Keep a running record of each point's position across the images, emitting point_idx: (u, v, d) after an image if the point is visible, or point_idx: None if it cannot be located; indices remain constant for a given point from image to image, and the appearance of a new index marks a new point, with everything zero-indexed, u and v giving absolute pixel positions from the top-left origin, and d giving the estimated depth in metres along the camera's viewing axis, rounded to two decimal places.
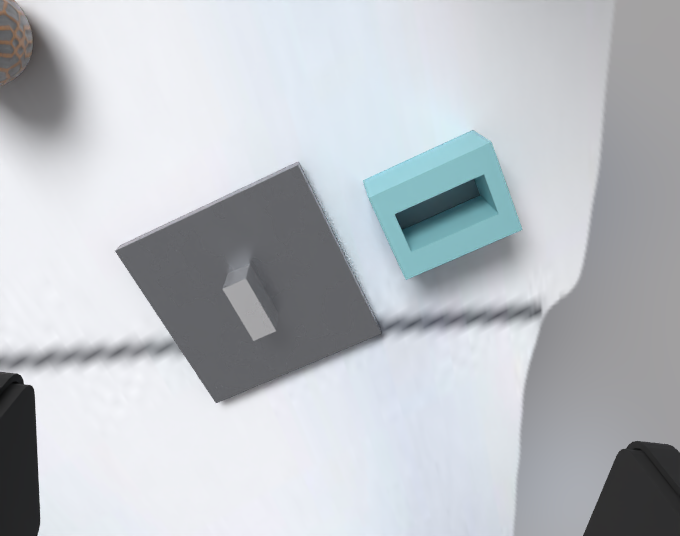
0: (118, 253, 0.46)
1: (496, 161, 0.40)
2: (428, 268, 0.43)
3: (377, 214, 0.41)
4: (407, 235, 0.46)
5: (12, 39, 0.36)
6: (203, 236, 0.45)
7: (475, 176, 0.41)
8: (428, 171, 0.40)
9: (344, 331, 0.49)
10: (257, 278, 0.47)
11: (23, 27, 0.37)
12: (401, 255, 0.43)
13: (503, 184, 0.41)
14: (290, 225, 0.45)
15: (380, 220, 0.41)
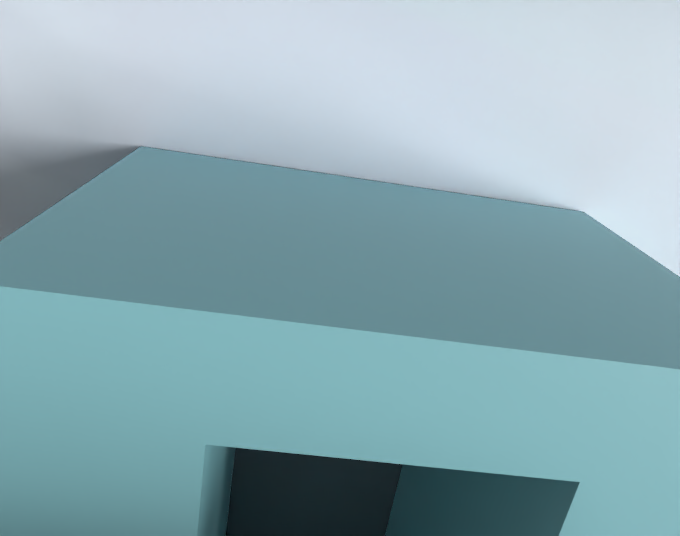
0: None
1: None
2: None
3: None
4: None
5: None
6: None
7: None
8: None
9: None
10: None
11: None
12: (216, 350, 0.05)
13: None
14: None
15: (622, 374, 0.05)
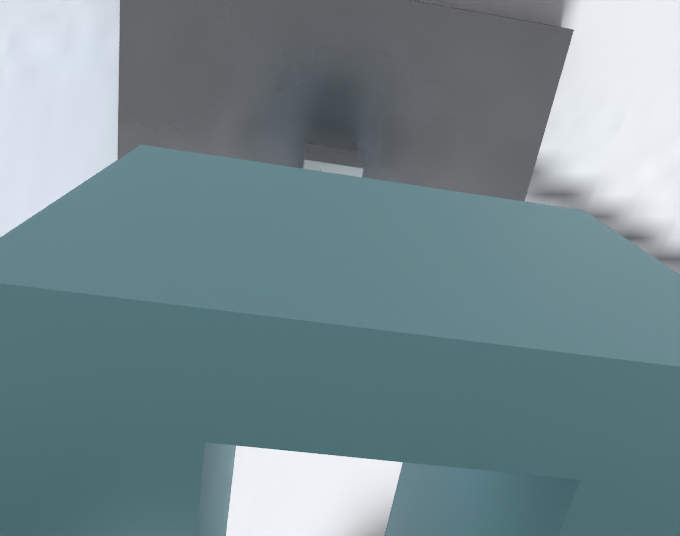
0: None
1: None
2: None
3: None
4: None
5: None
6: None
7: None
8: None
9: (200, 11, 0.20)
10: None
11: None
12: (216, 346, 0.05)
13: None
14: None
15: (622, 371, 0.05)
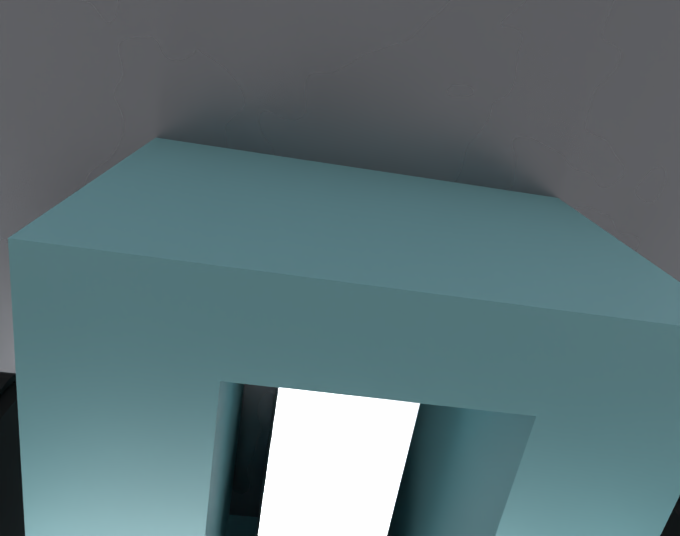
0: None
1: None
2: (32, 419, 0.06)
3: (620, 327, 0.06)
4: None
5: None
6: None
7: None
8: None
9: None
10: None
11: None
12: (229, 299, 0.05)
13: None
14: None
15: (568, 321, 0.06)
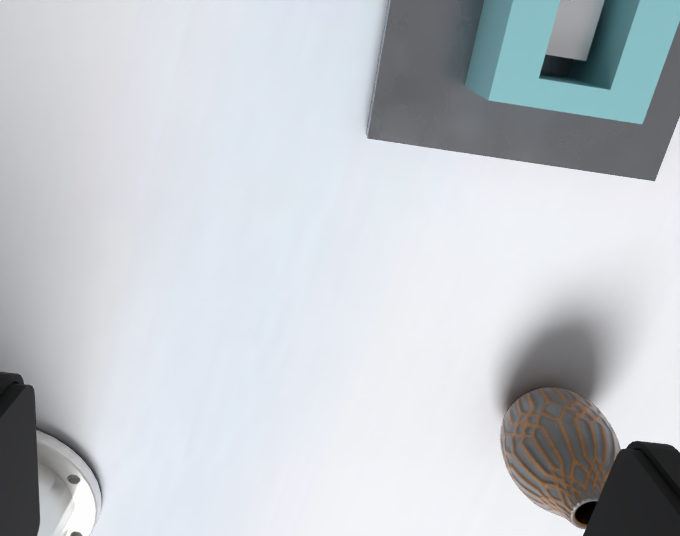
0: (654, 175, 0.32)
1: (612, 116, 0.25)
2: None
3: None
4: None
5: (528, 436, 0.34)
6: (545, 127, 0.31)
7: (617, 75, 0.25)
8: None
9: None
10: None
11: (512, 425, 0.36)
12: None
13: (574, 109, 0.25)
14: (433, 66, 0.29)
15: None
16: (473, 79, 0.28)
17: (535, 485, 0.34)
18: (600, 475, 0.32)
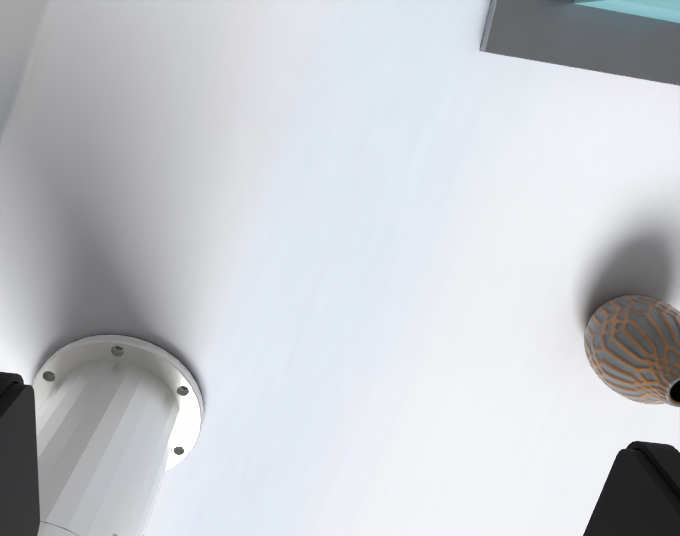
0: None
1: None
2: None
3: None
4: None
5: (619, 330, 0.38)
6: (640, 43, 0.35)
7: None
8: None
9: None
10: None
11: (600, 326, 0.40)
12: None
13: None
14: None
15: None
16: None
17: (628, 373, 0.37)
18: None
